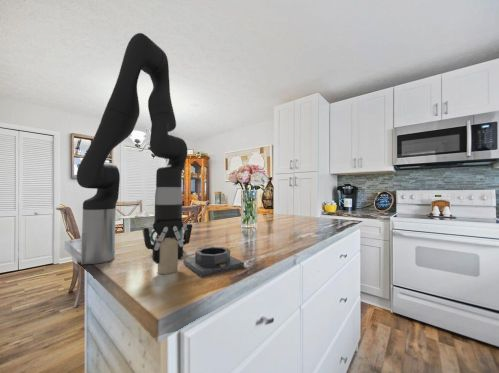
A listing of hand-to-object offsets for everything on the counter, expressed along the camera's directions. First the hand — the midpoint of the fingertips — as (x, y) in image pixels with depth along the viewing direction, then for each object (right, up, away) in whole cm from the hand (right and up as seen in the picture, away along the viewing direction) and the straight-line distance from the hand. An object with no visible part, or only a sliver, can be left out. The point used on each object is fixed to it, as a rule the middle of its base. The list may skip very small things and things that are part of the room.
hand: (167, 260), depth 64 cm
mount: (+12, -3, +5) cm, 14 cm away
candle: (0, -3, 0) cm, 3 cm away
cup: (-9, -4, +22) cm, 24 cm away
